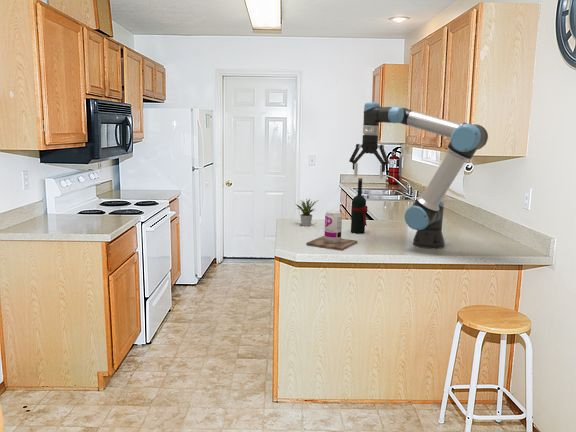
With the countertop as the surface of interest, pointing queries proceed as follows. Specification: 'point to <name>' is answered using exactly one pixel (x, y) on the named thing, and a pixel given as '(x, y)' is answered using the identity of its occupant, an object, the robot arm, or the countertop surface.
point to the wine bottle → (358, 211)
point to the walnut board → (336, 246)
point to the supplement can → (333, 226)
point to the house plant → (306, 213)
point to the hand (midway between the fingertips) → (368, 177)
